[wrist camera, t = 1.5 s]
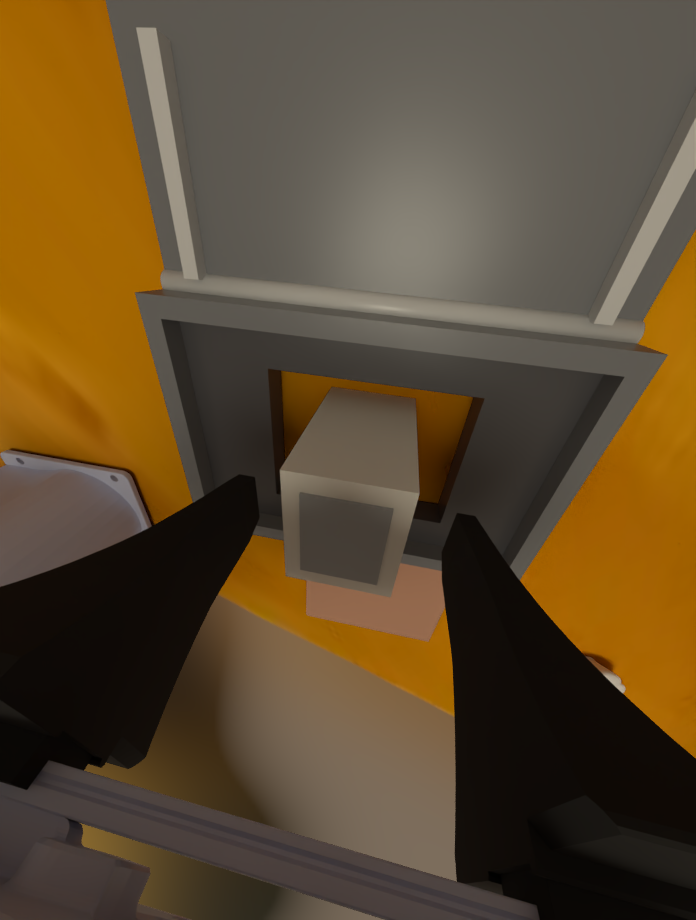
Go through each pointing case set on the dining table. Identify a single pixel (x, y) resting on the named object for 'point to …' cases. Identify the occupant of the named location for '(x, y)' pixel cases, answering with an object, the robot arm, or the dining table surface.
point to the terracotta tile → (384, 604)
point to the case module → (351, 491)
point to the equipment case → (413, 226)
